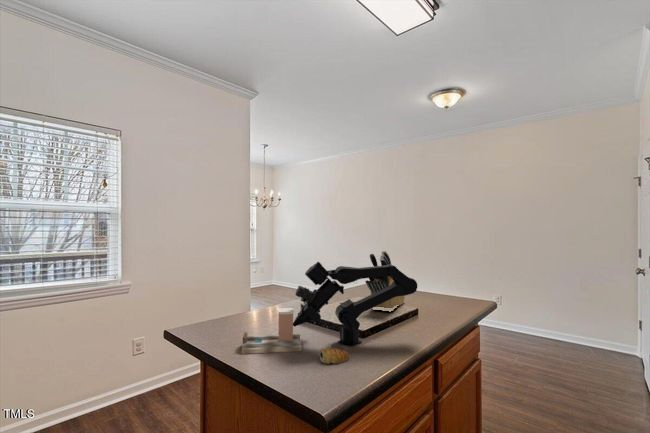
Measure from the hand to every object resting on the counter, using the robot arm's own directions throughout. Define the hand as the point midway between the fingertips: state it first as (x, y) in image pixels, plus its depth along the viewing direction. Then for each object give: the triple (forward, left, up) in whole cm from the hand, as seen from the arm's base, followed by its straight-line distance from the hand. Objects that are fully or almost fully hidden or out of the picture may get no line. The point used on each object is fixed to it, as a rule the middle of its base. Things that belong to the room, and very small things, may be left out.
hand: (293, 325), depth 115 cm
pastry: (-18, -2, -8) cm, 19 cm away
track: (+4, +6, -7) cm, 10 cm away
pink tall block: (+2, +2, -5) cm, 6 cm away
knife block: (+8, -67, -7) cm, 68 cm away
